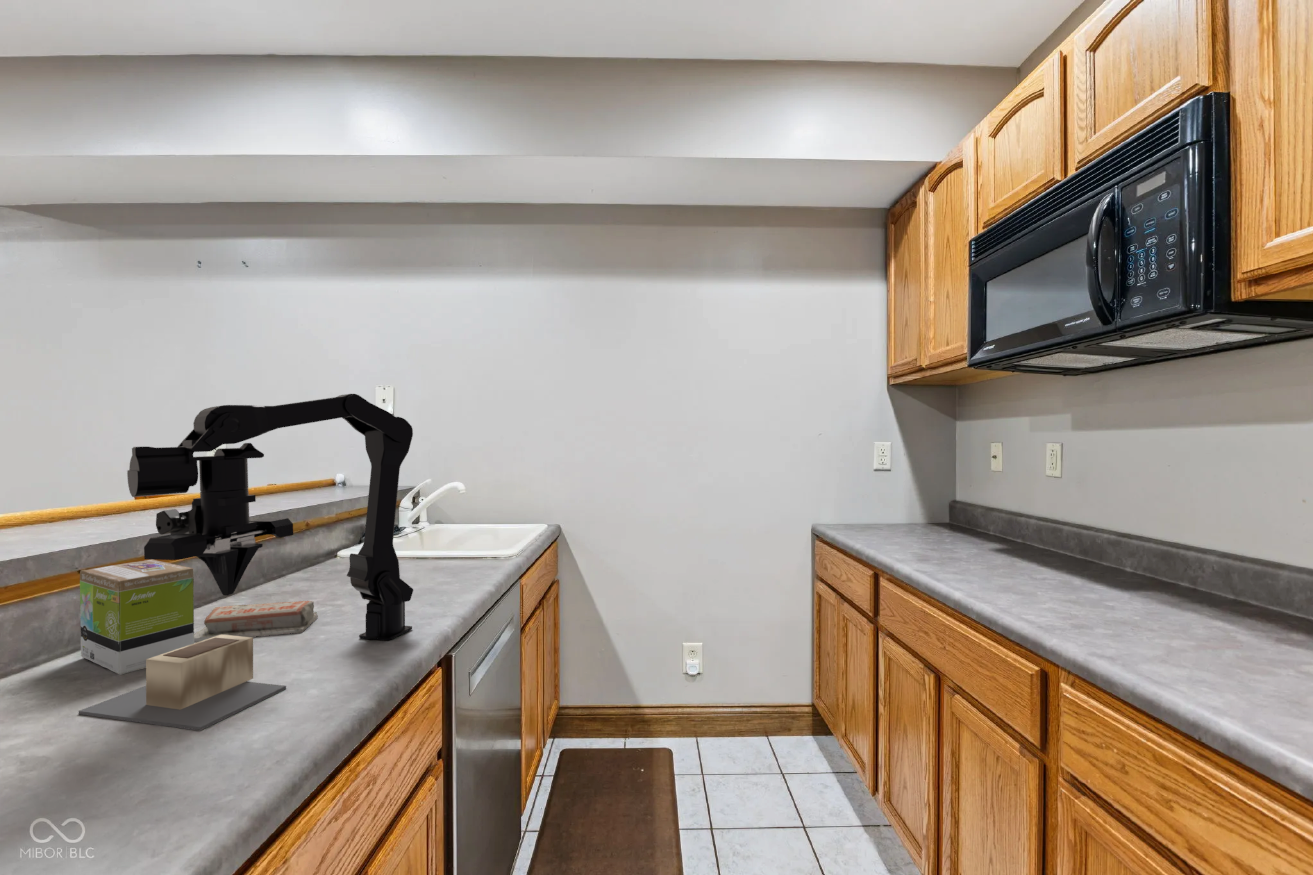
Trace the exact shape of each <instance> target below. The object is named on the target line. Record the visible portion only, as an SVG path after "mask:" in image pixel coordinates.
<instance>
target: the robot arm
mask: <svg viewBox="0 0 1313 875" xmlns="http://www.w3.org/2000/svg"><path fill="white" fill-rule="evenodd" d="M336 419H343V420H344V421H346V423H348V424H349V425H350V426H351V427H352V428H353V429H354V430H355V431H357V432H358V433H359V434H361V435H363V437H364V444H365V450H366V454H367V456H368V459H369V462H370V477H369V478H370V479H369V489H368V496H367V497H368V498H367V508H366V519H365V529H364V539H363V540H364V541H363V544H362V547H361V548H360V549H359V551H358V552H357V553H350V554H349V558H348V560H349V568H348V569H349V570H348V572H347V574H346V577H347V578H350V584H351V586H352V587H353V588H354V589H355V590H356V591H358V592H359V594H360V596H361V598H362V599H363V600H367V601H368V603H366V613H365V632H363V633H360V634H359V635H358V638H359V639H368V640H369V639H370V640H379V641H381V640H382V641H390V640H394V639H395V638H397V637H399V636H401V635H403V634H405V633H407V632H409V631H411V630H413V626H412V625H406V602H410V601H411V599H412V597H413V593H414V588H413V587H412V586H410V585H409V584H408V583H407V582H405V581H404V580H403V579H402V578H401V574H400V563H399V557H398V554H397V552H396V550H395V546H394V536H395V525H396V524H395V523H396V514H397V502H398V501H397V500H398V492H399V491H398V490H399V481H400V480H399V479H400V470H401V466H402V464H403V462H404V460H405V458H406V457H407V455H408V453H409V451H410V448H411V444H412V440H413V436H414V432H413V431H414V430H413V429H414V428H413V425H411V424H410V423H409V421H408V420H406V418H404V417H402V416H401V417H400V416H395V415H394V414H392V413H390V412H389V411H387V410H385V409H383V408H381V407H379V406H377V405H376V404H373V403H371V402H369V401H368V400H367V399H365V398H364V397H362V396H361V395H360V394H358V393H357V394H356V393H346V394H345V393H344V394H340V395H337V396H334V397H327V398H321V399H313V400H307V401H306V400H305V401H300V402H299V401H298V402H291V403H285V404H279V405H254V404H253V405H252V404H251V405H250V404H249V405H247V404H226V405H218V406H217V405H215V406H211V407H206V408H203V409H202V410H200V412H199V413H198V414H196V415H195V418H194V421H193V424H192V425H193V429H192V430H191V431H190V432H189V433H188V434H187V436H186V437H185V438H183V440H182V441H181V442H180V443H179V444H178V446H171V447H164V446H163V447H153V446H133V447H132V448H131V458H130V461H129V469H127V470H126V472H127V473H126V474H127V475H126V476H127V484H128V486H127V487H128V489H129V490H128V491H129V494H130V495H131V497H132V498H139V497H154V496H165V495H175V494H176V495H177V494H186V493H188V491H189V489H190V488H191V487H195V486H196V485H197V483H198V481H199V495H200V497H197V498H192V501H191V509H190V510H188V511H183V512H181V511H180V512H179V510H178V509H176V508H174V509H173V508H171V509H166V510H164V509H163V510H161V511H160V512H156V513H155V514H156V516H155V517H156V518H155V527H156V530H157V533H158V534H160V535H161V536H155V537H149V539H148V540H147V541H146V543H145V545H144V547H143V556H144V557H143V559H144V560H152V559H153V560H157V561H160V560H164V561H178V560H179V561H180V560H185V559H189V558H194V557H195V558H196V557H197V558H198V559H200V560H201V561H202V562H203V563H204V564H205V565H206V567H207V568H208V569H209V571H210V573H211V574H212V577H213V578H214V580H215V582H216V584H217V586H218V588H219V591H220V593H221V594H222V596H230V595H234V593H235V591H236V589H237V587H238V585H239V583H240V581H241V579H242V577H243V575H244V574H245V571H247V570H246V569H247V568H248V566H249V564H250V563H251V561H252V559H253V558H254V556H255V554H256V553H257V552H258V550H259V549H261V548H263V546H264V544H263V543H257V542H256V538H257V537H262V536H269V535H270V536H275V538H277V539H280V538H286V537H290V536H294V524H293V521H292V520H290V519H289V518H288V517H264V518H259V519H252V520H250V503H255V502H256V501H257V500H256V499H257V498H256V494H249V492H250V491H249V469H248V468H249V467H248V459H262V458H264V457H265V453H264V452H262V451H260V450H259V449H257V448H256V447H255V446H254V445H253V443H251V442H245V443H243V442H244V441H247V440H250V439H254V438H256V437H259V436H261V435H264V434H267V433H268V432H269V433H270V432H271V431H275V430H278V429H282V428H288V427H293V426H301V425H305V424H313V423H317V422H318V423H319V422H323V421H328V420H329V421H330V420H336ZM241 442H242V443H243V444H242V445H241V446H240V447H226V448H225V447H224V448H220V447H221V446H222V445H234V444H239V443H241ZM214 450H215V452H214V453H213V455H209V456H208V455H207V456H205V455H203V456H194V453H200V452H206V453H207V452H213V451H214ZM198 465H199V466H198Z"/></svg>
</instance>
